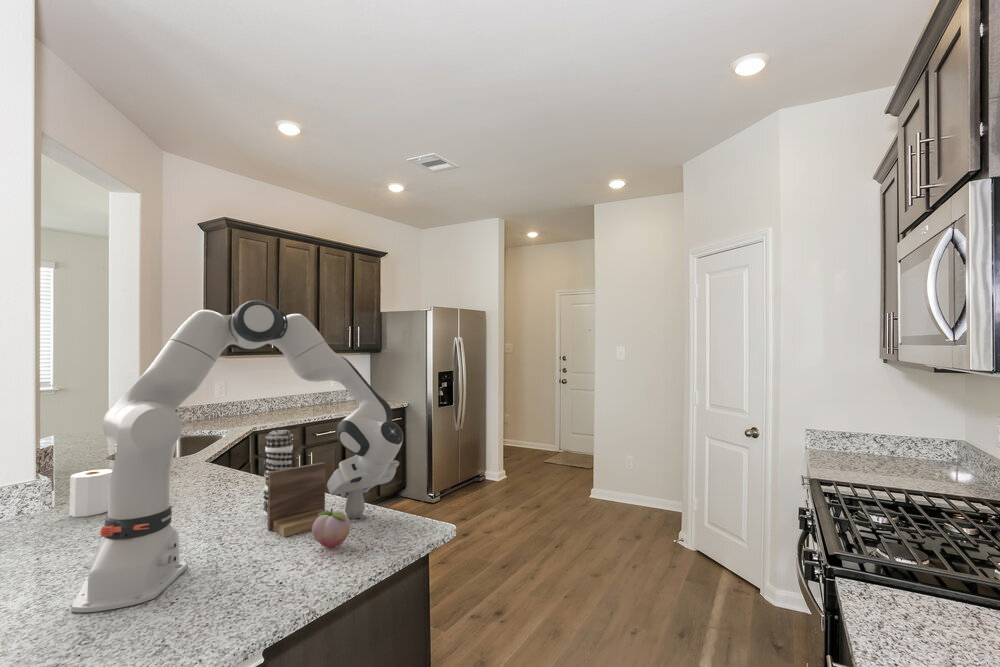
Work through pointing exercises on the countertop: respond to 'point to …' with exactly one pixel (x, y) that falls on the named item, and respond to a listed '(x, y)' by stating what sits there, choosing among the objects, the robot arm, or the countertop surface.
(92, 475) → the toilet paper
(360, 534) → the countertop surface
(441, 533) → the countertop surface
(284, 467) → the decorative candle
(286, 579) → the countertop surface
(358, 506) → the salt shaker
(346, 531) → the decorative fruit
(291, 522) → the cleat board
